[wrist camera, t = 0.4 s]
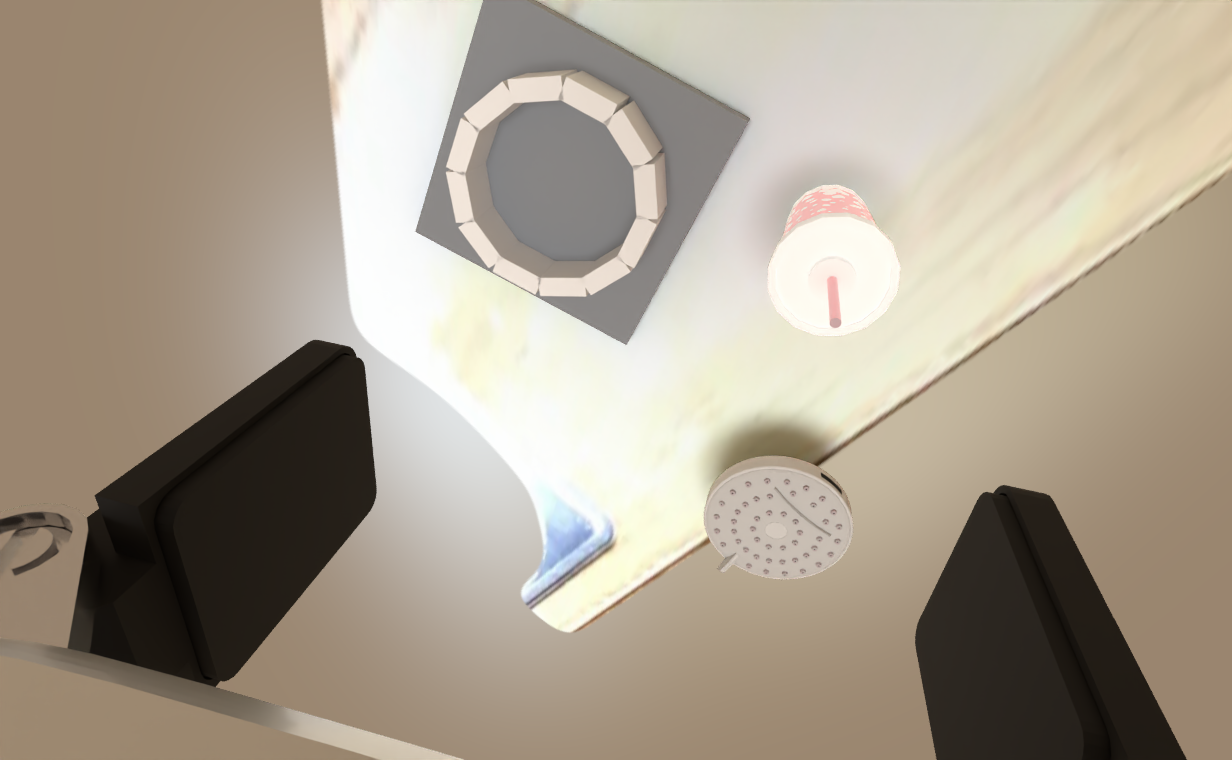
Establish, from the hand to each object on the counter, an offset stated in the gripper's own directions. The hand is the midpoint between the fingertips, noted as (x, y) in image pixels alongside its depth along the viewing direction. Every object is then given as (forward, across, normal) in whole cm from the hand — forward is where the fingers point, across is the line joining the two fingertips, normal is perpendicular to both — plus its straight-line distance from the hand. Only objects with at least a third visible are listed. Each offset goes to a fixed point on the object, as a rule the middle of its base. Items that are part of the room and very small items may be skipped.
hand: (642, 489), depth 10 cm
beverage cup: (+33, -5, +5) cm, 34 cm away
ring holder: (+33, +10, +4) cm, 35 cm away
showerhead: (+34, -6, +23) cm, 41 cm away
